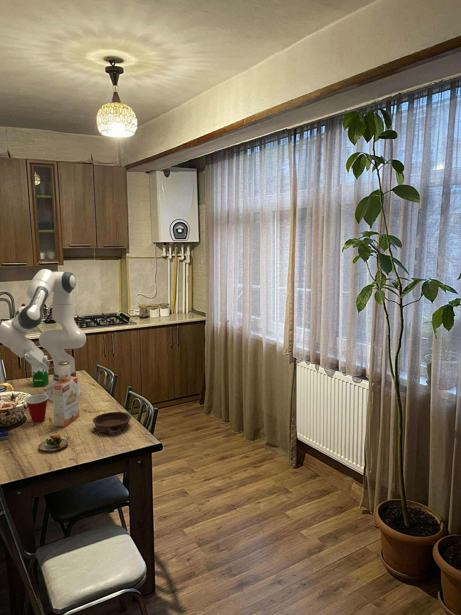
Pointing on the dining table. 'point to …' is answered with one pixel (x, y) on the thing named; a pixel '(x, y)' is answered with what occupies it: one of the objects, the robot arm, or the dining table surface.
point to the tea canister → (64, 371)
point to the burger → (54, 443)
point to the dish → (112, 422)
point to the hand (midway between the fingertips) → (48, 366)
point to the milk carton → (39, 376)
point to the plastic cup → (37, 407)
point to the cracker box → (65, 402)
